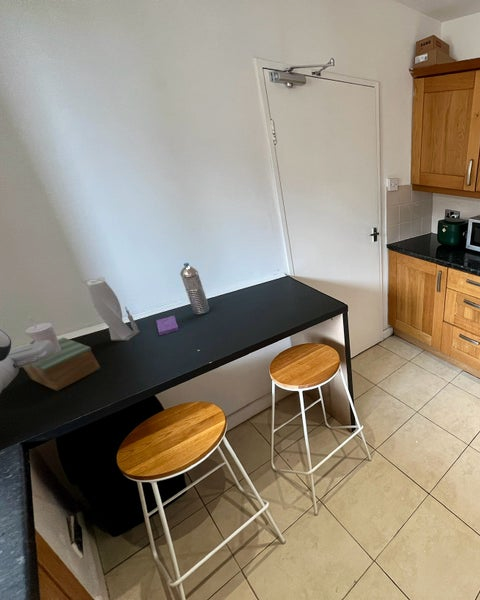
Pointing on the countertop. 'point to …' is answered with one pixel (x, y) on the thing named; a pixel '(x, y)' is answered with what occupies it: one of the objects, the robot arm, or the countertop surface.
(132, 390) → the countertop surface
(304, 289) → the countertop surface
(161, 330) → the sponge
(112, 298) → the skyscraper
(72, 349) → the lid
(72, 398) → the countertop surface
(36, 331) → the smoothie
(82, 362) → the wooden box
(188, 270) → the water bottle
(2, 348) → the robot arm
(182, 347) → the countertop surface
